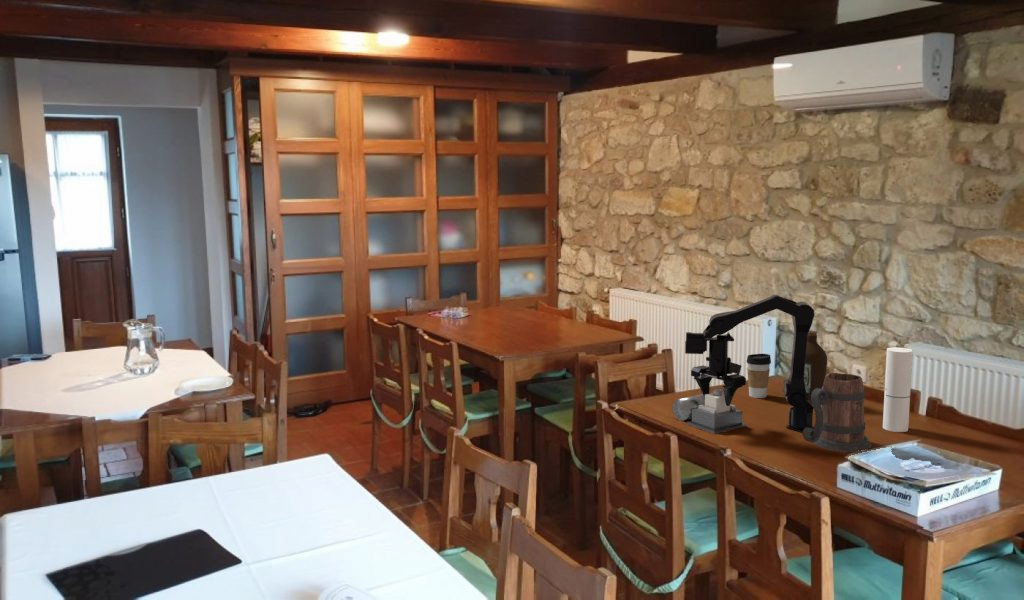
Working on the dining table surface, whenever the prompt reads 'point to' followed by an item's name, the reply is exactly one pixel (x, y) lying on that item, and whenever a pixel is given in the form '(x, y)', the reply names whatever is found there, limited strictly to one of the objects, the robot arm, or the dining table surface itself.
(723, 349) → the robot arm
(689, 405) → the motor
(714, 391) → the white knobbed block
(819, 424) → the tankard
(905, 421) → the cylindrical container
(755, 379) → the coffee cup
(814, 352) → the olive oil
